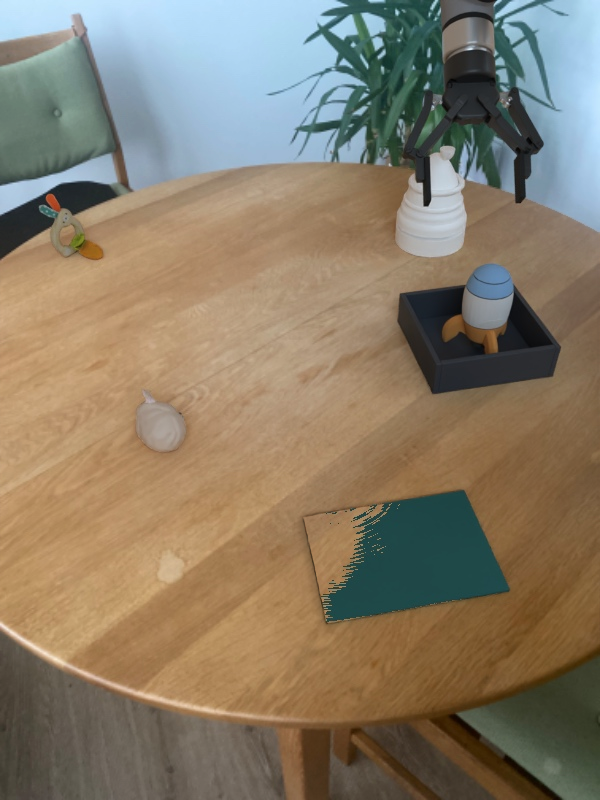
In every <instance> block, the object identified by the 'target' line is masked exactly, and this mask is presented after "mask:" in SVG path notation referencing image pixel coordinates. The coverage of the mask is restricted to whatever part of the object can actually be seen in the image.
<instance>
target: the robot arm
mask: <svg viewBox="0 0 600 800" xmlns="http://www.w3.org/2000/svg"><path fill="white" fill-rule="evenodd" d="M439 1H440V3H439V4H440V6H439V7H440V19H441V20H440V23H441V25H440V26H441V45H442V50H441V51H442V63H443V65H442V75H443V77H442V79H443V94H437V93H434V92H433V91H432V90H431V89H427V90H426V91H425V93H424V96H423V99H422V103H421V110H420V113H419V115H418V117H417V119H416V121H415V123H414V126H413V128H412V130H411V132H410V134H409V135H408V138H407V140H406V143H405V144H404V147H403V150H402V154H401V156H402V158H403V159H404V160H411V161H413V164H414V173H415V180H416V182H417V183H423V207H428V206H429V204H430V202H431V173H430V155H428V154H429V153H430V152H431V151H432V150H433V148H434V146H435V145H437V143H438V142H439V141H440V140H441V138H442V137H443V135H444V134H445V133H446V132H447V131H448V130H449V129H450V127H451V126H452V125H453V124H454V123H455V124H457V125H458V126H459V127H460V126H463V127H464V126H467V125H472V126H480V125H481V124H485V126H486V127H487V128H488V129H491V130H492V131H493V132H494V133H496V135H497V136H498V137H499V138H500V139H501V140H502V141H503V142H504V143H505V144H506V146H508V148H510V150H511V151H512V152H513V153H514V154H515V155H516V156H515V158H514V159H513V178H514V181H513V182H514V203H515V204H516V205H517V204H521V203H523V202H524V200H525V199H526V198H527V191H526V190H527V189H526V180H528V179H529V178H530V177H531V175H532V156H533V155H537V154H538V153H539V152H541V150H542V148H544V146H545V142H544V140H543V138H542V137H541V135H540V134H539V131H538V130H537V128H536V126H535V124H534V123H533V121H532V120H531V117H530V116H529V113H528V112H527V110H526V108H525V107H524V105H523V103H522V101H521V95H520V90H519V88H518V87H517V86H512V87H511V88H510V90H508V91H501V92H500V91H499V90H498V88H497V78H496V77H497V74H496V72H497V71H496V70H497V69H496V58H495V55H496V46H495V45H496V44H495V30H494V29H495V26H494V25H495V24H494V22H495V21H494V6H495V4H496V3H497V1H498V0H439ZM498 103H501V104H502V105H503V108H504V109H507V112H508V114H509V116H510V118H511V119H512V121H513V124H514V126H515V127H516V129H517V130H518V131H517V130H516V129H515V127H513V126H512V124H510V122H509V121H508V120H507V119H506V118H505V117H504V116H503V113H502V111H501V110H500V108H498V107H497V106H498ZM438 105H440V106H441V108H443V110H444V111H445V112H446V113H445V114H444V116H443V118H441V120H440V121H439V122H438V124H437V125H436V126H435V127H434V129H433V130H432V131H431V132H430V134H429V135H428V136H427V137H426V138H425V140H424V141H423V142H422V144H421V145H420V146H419V147H418V148H416V144H417V142H418V141H419V138H420V137H421V133H422V132H423V130H424V127H425V126H426V123H427V121H428V119H429V116H430V114H431V112H432V111H435V110H436V109H437V107H438Z"/></svg>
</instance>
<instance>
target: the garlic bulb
mask: <svg viewBox="0 0 600 800" xmlns="http://www.w3.org/2000/svg"><path fill="white" fill-rule="evenodd" d="M140 391H141V393H142V395H143V397H144V399H145V400H144V401H143V402H141V403H140V404H139V405H138V406H137V408H136V409H135V410H136V411H135V415H136V417H135V432H136V435H137V436H138V438H139V440H140V441H141V442H142V443H143V445H145V446H146V447H147V448H149V449H151V450H152V451H155V452H158V453H168V452H169V453H170V452H173V451H176V450H177V449H178V448H179V447H180V446H182V444H183V443H184V441H185V439H186V436H187V435H186V434H187V426H186V422H185V417H184V415H182V412H181V411H178V409H177V408H176V407H175V406H174V405H173V404H171V403H169V402H165V401H160V400H156V399H155V398H154V397H153V396H152V394H151V393H152V392H151V390H148V389H144V388H141V389H140Z"/></svg>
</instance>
